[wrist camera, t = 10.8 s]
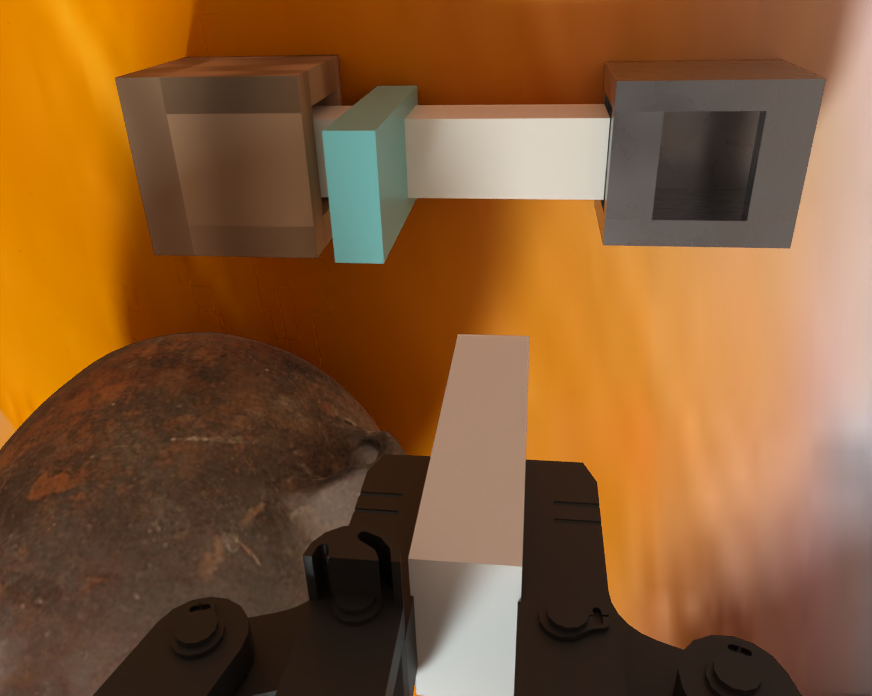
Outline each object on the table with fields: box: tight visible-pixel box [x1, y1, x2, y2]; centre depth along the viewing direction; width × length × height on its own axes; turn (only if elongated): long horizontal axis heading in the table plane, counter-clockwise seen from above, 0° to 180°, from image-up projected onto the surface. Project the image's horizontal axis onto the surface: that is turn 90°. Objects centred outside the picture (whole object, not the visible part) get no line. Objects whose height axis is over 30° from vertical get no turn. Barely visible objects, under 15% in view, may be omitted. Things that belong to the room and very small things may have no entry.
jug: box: [0, 332, 406, 696], centre depth 35 cm, size 24×21×30 cm
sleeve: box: [595, 59, 826, 248], centre depth 33 cm, size 8×7×6 cm
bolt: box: [312, 85, 610, 264], centre depth 32 cm, size 16×5×10 cm, turn 92°
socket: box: [115, 55, 343, 258], centre depth 35 cm, size 8×8×7 cm
